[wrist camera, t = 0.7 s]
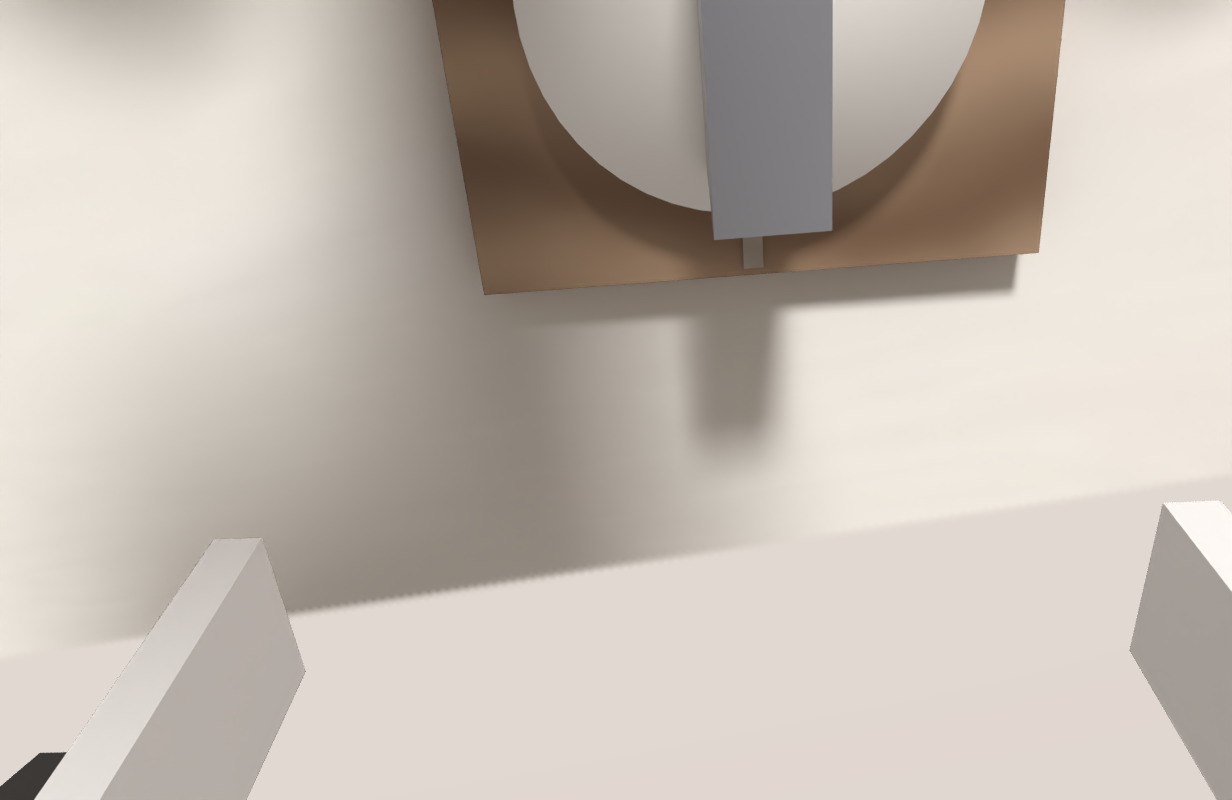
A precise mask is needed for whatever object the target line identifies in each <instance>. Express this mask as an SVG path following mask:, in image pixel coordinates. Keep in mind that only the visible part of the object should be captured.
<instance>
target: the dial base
mask: <svg viewBox="0 0 1232 800" xmlns="http://www.w3.org/2000/svg"><path fill="white" fill-rule="evenodd" d="M432 1H433V7H434V12H435V18H436V24H437V29H438V35H439V41H440V46H441V52H442V58H443V63H444V69H445V75H446V80H447V86H448V92H449V97H450V103H451V109H452V114H453V120H454V126H455V131H456V137H457V143H458V148H459V154H460V160H461V165H462V171H463V177H464V182H465V188H466V194H467V199H468V205H469V211H470V216H471V222H472V228H473V233H474V239H475V245H476V250H477V256H478V262H479V267H480V273H481V279H482V284H483V290H484V295H490V294H503V293H517V292H530V291H543V290H556V289H569V288H582V287H595V286H609V285H622V284H635V283H648V282H661V281H674V280H687V279H701V278H714V277H727V276H740V275H753V274H766V273H779V272H792V271H806V270H819V269H832V268H845V267H858V266H871V265H884V264H898V263H911V262H924V261H937V260H950V259H963V258H976V257H990V256H1003V255H1016V254H1029V253H1039V245H1040V235H1041V226H1042V216H1043V207H1044V197H1045V188H1046V178H1047V169H1048V159H1049V150H1050V140H1051V131H1052V121H1053V112H1054V102H1055V93H1056V83H1057V74H1058V64H1059V55H1060V45H1061V36H1062V26H1063V17H1064V7H1065V0H985V2H984V6H983V10H982V14H981V18H980V22H979V25H978V27H977V30H976V33H975V35H974V38H973V40H972V43H971V46H970V48H969V51H968V53H967V56H966V58H965V60H964V62H963V63H962V65H961V67H960V69H959V71H958V73H957V75H956V77H955V79H954V81H953V83H952V85H951V86H950V88H949V89H948V90H947V92H946V93H945V95H944V96H943V98H942V99H941V101H940V102H939V104H938V105H937V107H936V108H935V110H934V111H933V112H932V114H931V115H930V116H929V117H928V118H927V119H926V121H925V122H924V123H923V124H922V125H921V126H920V127H919V129H918V130H917V131H916V132H915V133H914V134H913V136H912V137H911V138H909V139H908V140H907V141H906V142H905V143H904V144H903V145H902V146H901V147H900V148H899V149H898V150H896V151H895V152H894V153H893V154H892V155H891V156H890V157H889V158H887V159H886V160H885V161H883V162H882V163H880V164H879V165H878V166H876V167H875V168H874V169H872V170H871V171H869V172H868V173H867V174H865V175H864V176H862V177H860V178H858V179H857V180H855V181H853V182H851V183H850V184H848V185H846V186H844V187H842V188H841V189H839V190H837V191H834V192H832V231H822V232H810V233H797V234H785V235H772V236H760V237H747V238H735V239H722V240H714V234H713V224H712V215H711V211H703V210H697V209H693V208H689V207H684V206H680V205H676V204H672V203H670V202H667V201H664V200H662V199H659V198H657V197H654V196H651V195H649V194H646V193H644V192H643V191H641V190H639V189H637V188H635V187H633V186H632V185H630V184H628V183H626V182H624V181H622V180H621V179H619V178H618V177H617V176H615V175H614V174H613V173H611V172H610V171H608V170H607V169H606V168H604V167H603V166H601V165H600V164H599V163H598V162H597V161H596V160H594V159H593V158H592V157H591V156H590V155H589V154H588V153H587V152H586V151H585V150H584V149H583V148H582V147H581V146H580V145H579V144H578V143H577V142H576V141H575V140H574V139H573V137H572V136H571V135H570V134H569V133H568V131H567V130H566V129H565V128H564V126H563V125H562V124H561V123H560V122H559V120H558V119H557V117H556V115H555V114H554V112H553V111H552V109H551V108H550V106H549V104H548V103H547V101H546V100H545V98H544V97H543V95H542V92H541V90H540V88H539V86H538V84H537V82H536V80H535V78H534V76H533V73H532V71H531V69H530V67H529V64H528V61H527V58H526V55H525V52H524V49H523V46H522V43H521V40H520V36H519V31H518V26H517V21H516V16H515V11H514V5H513V0H432Z"/></svg>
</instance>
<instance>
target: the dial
mask: <svg viewBox="0 0 1232 800" xmlns="http://www.w3.org/2000/svg"><path fill="white" fill-rule="evenodd" d="M984 2H985V0H513V5H514V11H515V16H516V21H517V26H518V31H519V36H520V40H521V43H522V46H523V49H524V52H525V55H526V58H527V61H528V64H529V67H530V69H531V71H532V73H533V76H534V78H535V80H536V82H537V84H538V86H539V88H540V90H541V92H542V95H543V97H544V98H545V100H546V101H547V103H548V104H549V106H550V108H551V109H552V111H553V112H554V114H555V115H556V117H557V119H558V120H559V122H560V123H561V124H562V125H563V126H564V128H565V129H566V130H567V131H568V133H569V134H570V135H571V136H572V137H573V139H574V140H575V141H576V142H577V143H578V144H579V145H580V146H581V147H582V148H583V149H584V150H585V151H586V152H587V153H588V154H589V155H590V156H591V157H592V158H593V159H594V160H596V161H597V162H598V163H599V164H600V165H601V166H603V167H604V168H606V169H607V170H608V171H610V172H611V173H613V174H614V175H615V176H617V177H618V178H619V179H621V180H622V181H624V182H626V183H628V184H630V185H632V186H633V187H635V188H637V189H639V190H641V191H643V192H644V193H646V194H649V195H651V196H654V197H657V198H659V199H662V200H664V201H667V202H670V203H672V204H676V205H680V206H684V207H689V208H693V209H697V210H703V211H711V215H712V224H713V234H714V240H722V239H735V238H747V237H760V236H772V235H785V234H797V233H810V232H822V231H832V192H834V191H837V190H839V189H841V188H842V187H844V186H846V185H848V184H850V183H851V182H853V181H855V180H857V179H858V178H860V177H862V176H864V175H865V174H867V173H868V172H869V171H871V170H872V169H874V168H875V167H876V166H878V165H879V164H880V163H882V162H883V161H885V160H886V159H887V158H889V157H890V156H891V155H892V154H893V153H894V152H895V151H896V150H898V149H899V148H900V147H901V146H902V145H903V144H904V143H905V142H906V141H907V140H908V139H909V138H911V137H912V136H913V134H914V133H915V132H916V131H917V130H918V129H919V127H920V126H921V125H922V124H923V123H924V122H925V121H926V119H927V118H928V117H929V116H930V115H931V114H932V112H933V111H934V110H935V108H936V107H937V105H938V104H939V102H940V101H941V99H942V98H943V96H944V95H945V93H946V92H947V90H948V89H949V88H950V86H951V85H952V83H953V81H954V79H955V77H956V75H957V73H958V71H959V69H960V67H961V65H962V63H963V62H964V60H965V58H966V56H967V53H968V51H969V48H970V46H971V43H972V40H973V38H974V35H975V33H976V30H977V27H978V25H979V22H980V18H981V14H982V10H983V6H984Z"/></svg>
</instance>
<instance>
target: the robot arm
mask: <svg viewBox="0 0 1232 800" xmlns="http://www.w3.org/2000/svg"><path fill="white" fill-rule="evenodd" d="M1130 652H1131V654H1132V655H1133V657H1134V659H1135V660H1136V662H1137V664H1138V666H1139V667H1140V669H1141V671H1142V673H1143V674H1144V676H1145V678H1146V679H1147V681H1148V683H1149V684H1150V686H1151V688H1152V690H1153V691H1154V693H1155V695H1156V696H1157V698H1158V700H1159V701H1160V703H1161V705H1162V707H1163V708H1164V710H1165V712H1166V714H1167V715H1168V717H1169V719H1170V720H1171V722H1172V724H1173V725H1174V727H1175V729H1176V731H1177V732H1178V734H1179V736H1180V737H1181V739H1182V741H1183V743H1184V744H1185V746H1186V748H1187V749H1188V751H1189V753H1190V755H1191V756H1192V758H1193V759H1194V761H1195V763H1196V765H1197V767H1198V768H1199V770H1200V772H1201V773H1202V775H1203V777H1204V778H1205V780H1206V782H1207V783H1208V785H1209V787H1210V789H1211V790H1212V792H1213V794H1214V796H1215V797H1216V799H1217V800H1232V514H1231V512H1230V511H1229V510H1228V509H1227V508H1226V507H1225V505H1223V503H1222V502H1221V501H1199V502H1174V503H1173V502H1172V503H1163V505H1162V509H1161V514H1160V518H1159V523H1158V527H1157V532H1156V536H1155V540H1154V545H1153V549H1152V554H1151V558H1150V562H1149V567H1148V571H1147V575H1146V580H1145V584H1144V589H1143V593H1142V597H1141V602H1140V607H1139V611H1138V615H1137V620H1136V625H1135V629H1134V633H1133V637H1132V642H1131V646H1130ZM305 672H306V671H305V668H304V665H303V662H302V659H301V656H300V653H299V650H298V647H297V643H296V640H295V637H294V634H293V631H292V628H291V625H290V622H289V619H288V616H287V613H286V610H285V607H284V603H283V600H282V597H281V594H280V591H279V588H278V585H277V582H276V579H275V576H274V573H273V570H272V567H271V564H270V560H269V557H268V554H267V551H266V548H265V545H264V542H263V539H262V538H237V539H214V540H213V541H212V543H211V544H210V546H209V547H208V549H207V550H206V552H205V553H204V554H203V556H202V557H201V559H200V560H199V562H198V563H197V565H196V566H195V567H194V569H193V570H192V572H191V573H190V575H189V576H188V578H187V579H186V580H185V582H184V583H183V585H182V586H181V588H180V589H179V591H178V592H177V594H176V595H175V596H174V598H173V599H172V601H171V602H170V604H169V605H168V607H167V608H166V609H165V611H164V612H163V614H162V615H161V617H160V618H159V620H158V621H157V623H156V624H155V625H154V627H153V628H152V630H151V631H150V633H149V634H148V636H147V637H146V638H145V640H144V641H143V643H142V644H141V646H140V647H139V649H138V650H137V651H136V653H135V654H134V656H133V657H132V659H131V660H130V662H129V663H128V665H127V666H126V668H125V669H124V670H123V672H122V673H121V675H120V676H119V678H118V679H117V680H116V682H115V683H114V685H113V686H112V688H111V689H110V691H109V692H108V694H107V695H106V696H105V698H104V699H103V701H102V702H101V704H100V705H99V707H98V708H97V709H96V711H95V712H94V714H93V715H92V717H91V718H90V720H89V721H88V723H87V724H86V725H85V727H84V728H83V730H82V731H81V733H80V734H79V736H78V737H77V738H76V740H75V741H74V743H73V744H72V746H71V747H70V749H69V750H68V751H67V752H64V753H39V754H38V755H37V756H36V757H35V758H33V759H32V760H31V761H30V762H29V763H27V764H26V765H25V766H24V767H23V768H21V770H19V771H18V772H17V773H16V774H14V775H13V776H12V777H11V778H10V779H9V780H7V781H6V782H5V783H4V784H3V785H2V786H0V800H247V797H248V795H249V793H250V791H251V788H252V786H253V784H254V782H255V780H256V778H257V776H258V774H259V771H260V769H261V767H262V765H263V763H264V761H265V758H266V756H267V754H268V752H269V750H270V747H271V745H272V743H273V741H274V739H275V737H276V734H277V732H278V730H279V728H280V726H281V723H282V721H283V719H284V717H285V715H286V712H287V711H288V708H289V706H290V704H291V702H292V700H293V697H294V695H295V693H296V691H297V689H298V687H299V685H300V682H301V680H302V678H303V676H304V674H305Z"/></svg>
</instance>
